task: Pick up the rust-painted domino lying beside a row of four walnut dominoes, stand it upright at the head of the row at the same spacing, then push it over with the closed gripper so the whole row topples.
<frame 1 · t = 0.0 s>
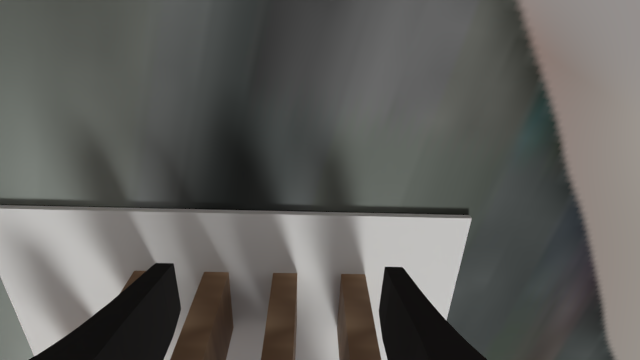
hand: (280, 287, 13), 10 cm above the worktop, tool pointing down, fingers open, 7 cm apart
walnut domino 5: (350, 302, 26), resting on grey mat
walnut domino 3: (219, 300, 26), resting on grey mat
walnut domino 4: (285, 301, 26), resting on grey mat
grey mat: (236, 307, 27), on the worktop
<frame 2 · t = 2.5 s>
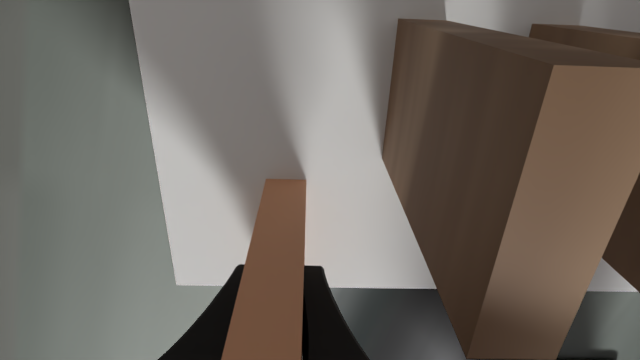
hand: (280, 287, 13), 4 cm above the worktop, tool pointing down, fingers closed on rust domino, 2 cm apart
rust domino: (286, 232, 16), resting on grey mat, touching gripper
walnut domino 2: (411, 94, 14), resting on grey mat
walnut domino 3: (534, 98, 14), resting on grey mat
grey mat: (547, 122, 15), on the worktop
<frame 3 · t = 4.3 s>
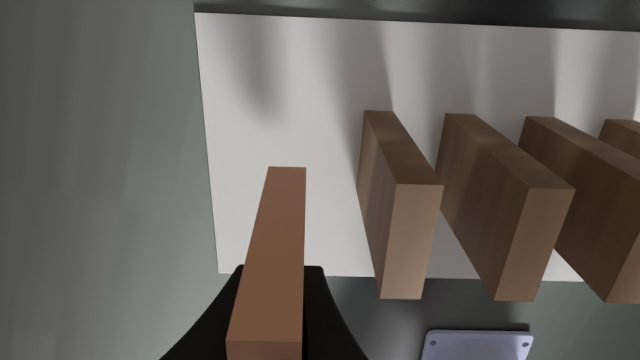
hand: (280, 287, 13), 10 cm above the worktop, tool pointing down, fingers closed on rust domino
rust domino: (287, 217, 17), point 6 cm above the worktop, touching gripper
walnut domino 5: (603, 160, 22), resting on grey mat
walnut domino 2: (373, 153, 22), resting on grey mat
walnut domino 3: (451, 155, 22), resting on grey mat
walnut domino 4: (527, 158, 22), resting on grey mat
grey mat: (462, 169, 23), on the worktop
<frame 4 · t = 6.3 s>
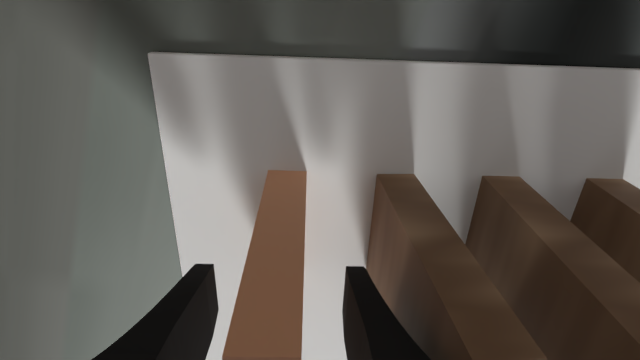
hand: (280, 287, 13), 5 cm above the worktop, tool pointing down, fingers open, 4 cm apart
rust domino: (287, 221, 17), resting on grey mat
walnut domino 2: (388, 224, 17), resting on grey mat
walnut domino 3: (487, 225, 17), resting on grey mat
walnut domino 4: (584, 227, 17), resting on grey mat
grey mat: (499, 239, 18), on the worktop
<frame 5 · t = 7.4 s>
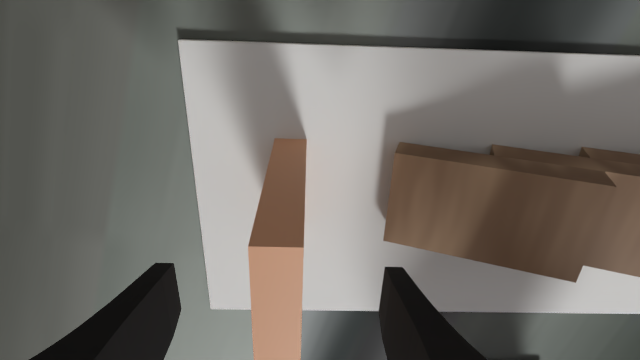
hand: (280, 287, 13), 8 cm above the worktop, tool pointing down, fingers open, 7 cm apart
rust domino: (290, 183, 20), resting on grey mat
walnut domino 2: (391, 192, 20), point 1 cm above the worktop, tilted 70°, touching grey mat, walnut domino 3
walnut domino 3: (481, 194, 20), point 1 cm above the worktop, tilted 70°, touching grey mat, walnut domino 2, walnut domino 4
walnut domino 4: (569, 196, 20), point 1 cm above the worktop, tilted 70°, touching walnut domino 3, walnut domino 5
grey mat: (470, 200, 21), on the worktop
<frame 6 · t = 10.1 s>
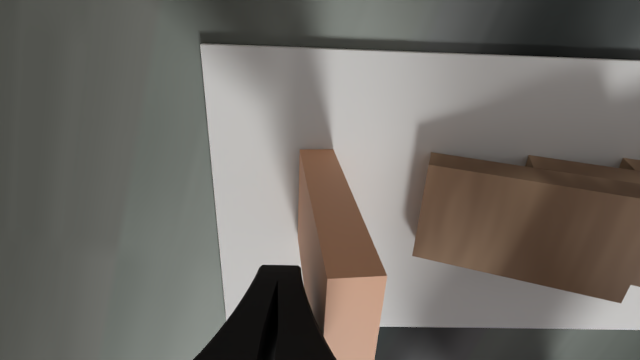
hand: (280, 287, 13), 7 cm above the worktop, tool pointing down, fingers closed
rust domino: (314, 195, 19), resting on grey mat, tilted 6°, touching gripper
walnut domino 2: (421, 205, 19), point 1 cm above the worktop, tilted 70°, touching grey mat, walnut domino 3
walnut domino 3: (516, 207, 19), point 1 cm above the worktop, tilted 70°, touching grey mat, walnut domino 2, walnut domino 4
grey mat: (501, 212, 20), on the worktop
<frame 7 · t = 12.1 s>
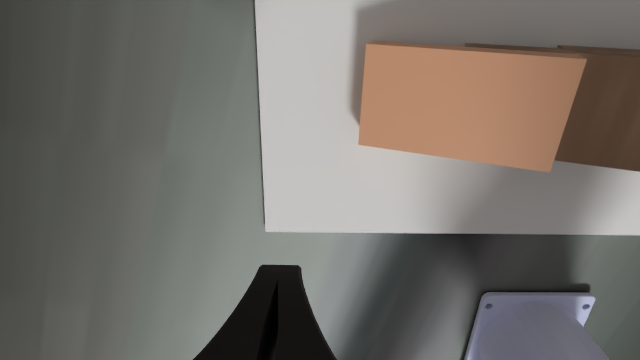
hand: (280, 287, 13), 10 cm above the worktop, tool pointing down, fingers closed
rust domino: (365, 93, 19), point 1 cm above the worktop, tilted 70°, touching grey mat, walnut domino 2
walnut domino 2: (456, 95, 20), point 1 cm above the worktop, tilted 70°, touching grey mat, rust domino, walnut domino 3
grey mat: (530, 110, 21), on the worktop
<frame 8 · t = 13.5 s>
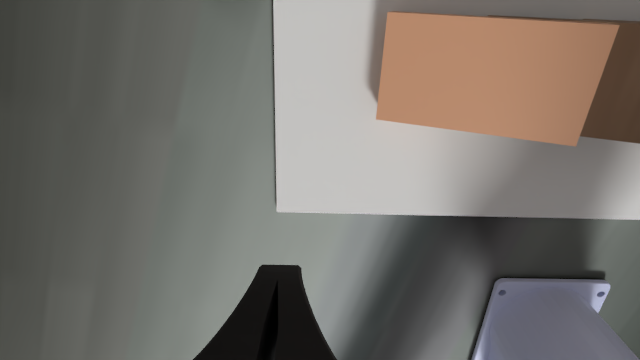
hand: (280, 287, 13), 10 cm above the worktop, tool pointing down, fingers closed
rust domino: (384, 66, 19), point 1 cm above the worktop, tilted 70°, touching grey mat, walnut domino 2
walnut domino 2: (477, 69, 19), point 1 cm above the worktop, tilted 70°, touching grey mat, rust domino, walnut domino 3
grey mat: (551, 87, 21), on the worktop
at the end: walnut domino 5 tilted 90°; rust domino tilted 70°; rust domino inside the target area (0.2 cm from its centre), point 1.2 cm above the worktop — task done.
